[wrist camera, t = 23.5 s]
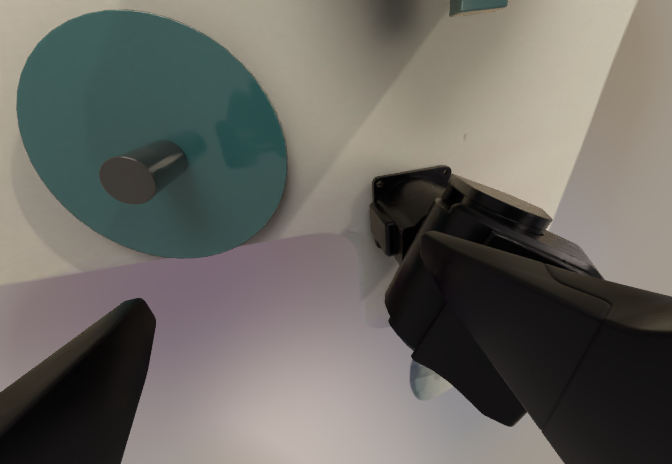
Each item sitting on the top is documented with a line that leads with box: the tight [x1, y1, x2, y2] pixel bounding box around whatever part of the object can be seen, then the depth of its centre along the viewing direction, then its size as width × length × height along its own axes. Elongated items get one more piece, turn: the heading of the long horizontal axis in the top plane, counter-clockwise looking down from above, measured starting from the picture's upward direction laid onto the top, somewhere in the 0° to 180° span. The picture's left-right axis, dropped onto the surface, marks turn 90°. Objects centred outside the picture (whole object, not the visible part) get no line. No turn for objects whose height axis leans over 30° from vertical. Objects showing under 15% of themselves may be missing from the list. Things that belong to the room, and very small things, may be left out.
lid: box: [17, 10, 287, 258], centre depth 16 cm, size 15×15×6 cm
